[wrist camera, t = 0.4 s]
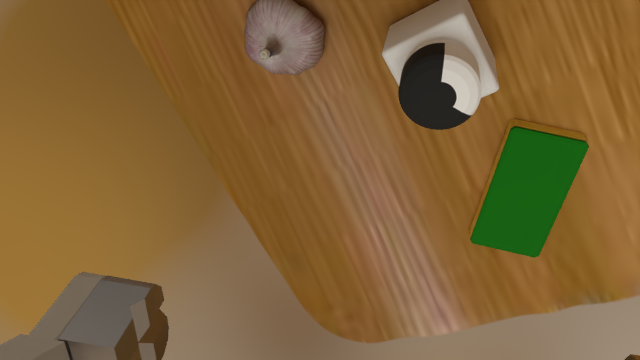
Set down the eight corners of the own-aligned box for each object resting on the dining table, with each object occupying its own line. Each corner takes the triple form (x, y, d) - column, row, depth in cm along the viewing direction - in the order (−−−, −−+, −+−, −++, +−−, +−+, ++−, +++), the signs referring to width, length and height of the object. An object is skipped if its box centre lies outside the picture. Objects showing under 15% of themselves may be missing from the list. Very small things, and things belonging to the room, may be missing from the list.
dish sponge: (468, 229, 65) (469, 243, 63) (510, 115, 57) (512, 127, 55) (535, 244, 64) (537, 259, 62) (585, 131, 56) (590, 144, 54)
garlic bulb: (240, -3, 55) (210, 25, 49) (315, -22, 53) (295, 4, 46) (266, 73, 59) (242, 108, 52) (337, 58, 57) (322, 93, 50)
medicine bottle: (422, 91, 57) (416, 154, 47) (387, 25, 54) (373, 77, 44) (495, 58, 54) (505, 118, 44) (462, -13, 51) (464, 33, 41)
